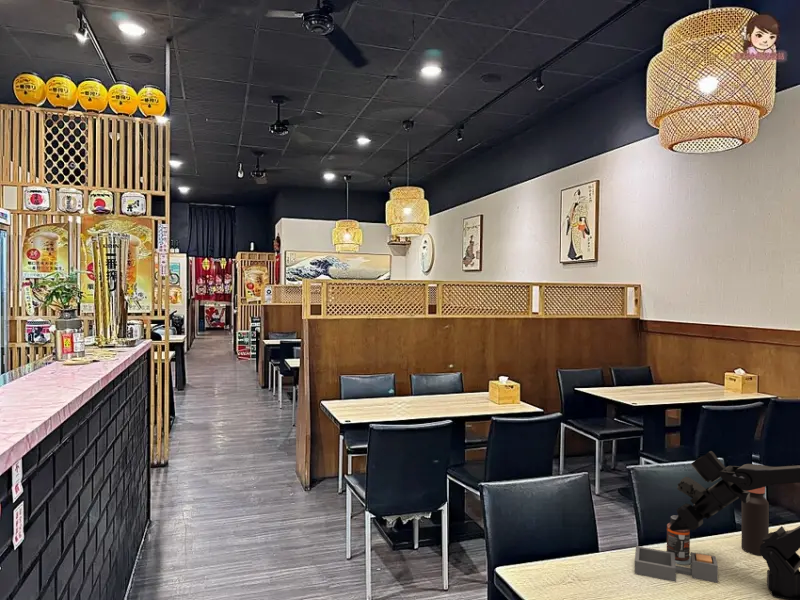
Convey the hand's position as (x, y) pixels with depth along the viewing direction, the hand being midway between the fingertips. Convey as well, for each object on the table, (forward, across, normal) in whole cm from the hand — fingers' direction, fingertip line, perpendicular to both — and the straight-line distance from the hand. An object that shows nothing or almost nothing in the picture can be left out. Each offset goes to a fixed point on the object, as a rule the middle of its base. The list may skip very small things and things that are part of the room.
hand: (677, 524), depth 159 cm
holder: (+5, +10, +9) cm, 14 cm away
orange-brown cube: (0, +5, +12) cm, 14 cm away
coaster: (+7, 0, +7) cm, 10 cm away
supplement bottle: (+6, 0, +7) cm, 9 cm away
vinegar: (-3, -22, +17) cm, 28 cm away
